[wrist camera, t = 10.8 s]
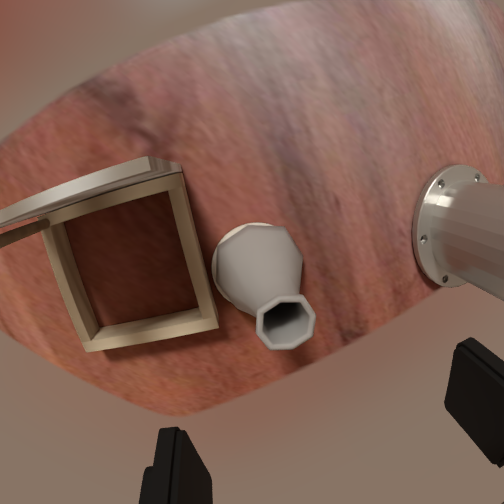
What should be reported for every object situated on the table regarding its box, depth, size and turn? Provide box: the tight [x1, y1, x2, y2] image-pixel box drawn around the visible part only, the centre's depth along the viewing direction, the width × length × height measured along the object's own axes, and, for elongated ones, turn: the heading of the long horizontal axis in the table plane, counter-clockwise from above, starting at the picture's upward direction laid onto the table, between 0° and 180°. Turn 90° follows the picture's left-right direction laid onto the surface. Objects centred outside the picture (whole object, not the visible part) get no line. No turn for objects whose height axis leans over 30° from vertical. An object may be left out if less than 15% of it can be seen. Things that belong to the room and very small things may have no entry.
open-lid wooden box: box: [0, 156, 219, 352], centre depth 19 cm, size 12×13×12 cm
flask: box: [216, 225, 316, 350], centre depth 20 cm, size 7×7×10 cm
